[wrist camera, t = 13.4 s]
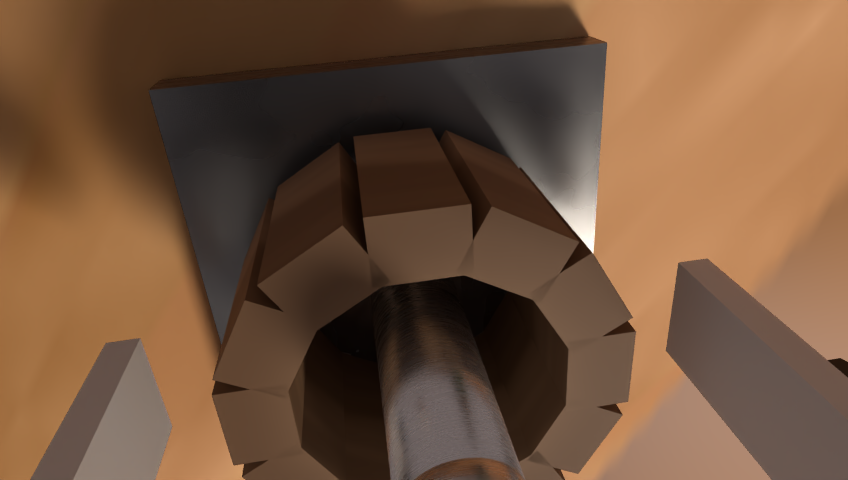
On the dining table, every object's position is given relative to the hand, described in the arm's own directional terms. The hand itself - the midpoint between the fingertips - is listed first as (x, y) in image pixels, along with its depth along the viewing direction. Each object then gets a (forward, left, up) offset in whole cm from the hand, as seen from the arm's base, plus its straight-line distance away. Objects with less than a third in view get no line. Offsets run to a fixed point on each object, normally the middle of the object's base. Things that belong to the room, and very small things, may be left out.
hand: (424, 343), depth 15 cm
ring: (0, 0, -3) cm, 3 cm away
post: (0, 0, -5) cm, 5 cm away
